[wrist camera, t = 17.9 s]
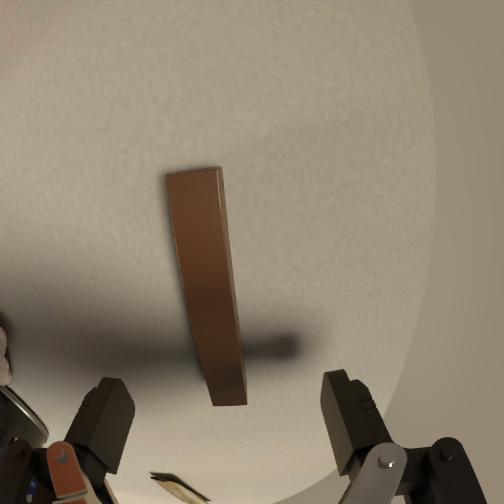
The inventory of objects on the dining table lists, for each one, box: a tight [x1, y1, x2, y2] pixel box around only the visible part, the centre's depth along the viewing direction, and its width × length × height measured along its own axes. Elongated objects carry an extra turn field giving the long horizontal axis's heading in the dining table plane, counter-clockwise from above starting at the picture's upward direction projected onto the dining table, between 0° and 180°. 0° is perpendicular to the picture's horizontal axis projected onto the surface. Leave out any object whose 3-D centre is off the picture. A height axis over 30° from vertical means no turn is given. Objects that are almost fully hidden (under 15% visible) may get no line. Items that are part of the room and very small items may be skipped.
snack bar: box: [150, 476, 208, 504], centre depth 18 cm, size 10×2×3 cm
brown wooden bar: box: [166, 167, 247, 406], centre depth 10 cm, size 10×2×2 cm, turn 4°
